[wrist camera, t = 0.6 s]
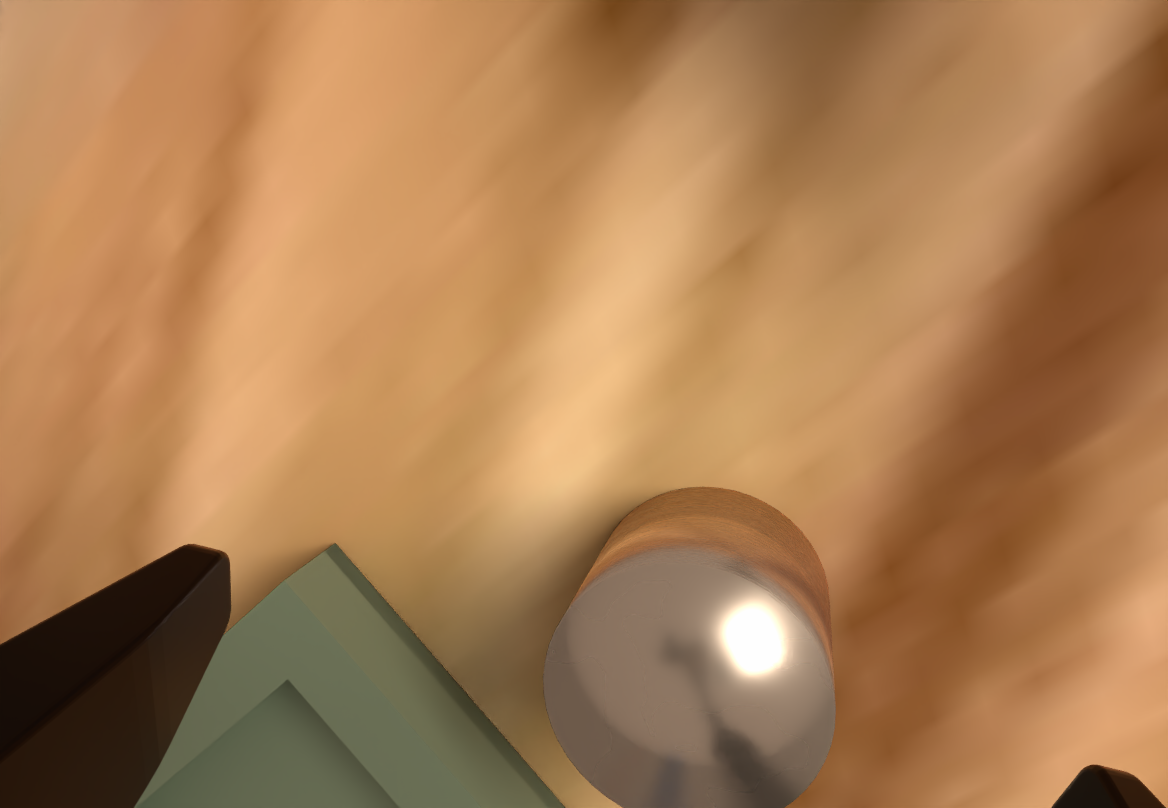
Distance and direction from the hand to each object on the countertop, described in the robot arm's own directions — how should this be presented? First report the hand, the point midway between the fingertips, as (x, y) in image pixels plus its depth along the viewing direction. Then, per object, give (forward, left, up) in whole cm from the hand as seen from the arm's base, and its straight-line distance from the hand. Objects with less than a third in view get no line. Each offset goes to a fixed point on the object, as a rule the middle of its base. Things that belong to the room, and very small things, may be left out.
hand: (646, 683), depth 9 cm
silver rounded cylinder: (-3, +4, -13) cm, 14 cm away
